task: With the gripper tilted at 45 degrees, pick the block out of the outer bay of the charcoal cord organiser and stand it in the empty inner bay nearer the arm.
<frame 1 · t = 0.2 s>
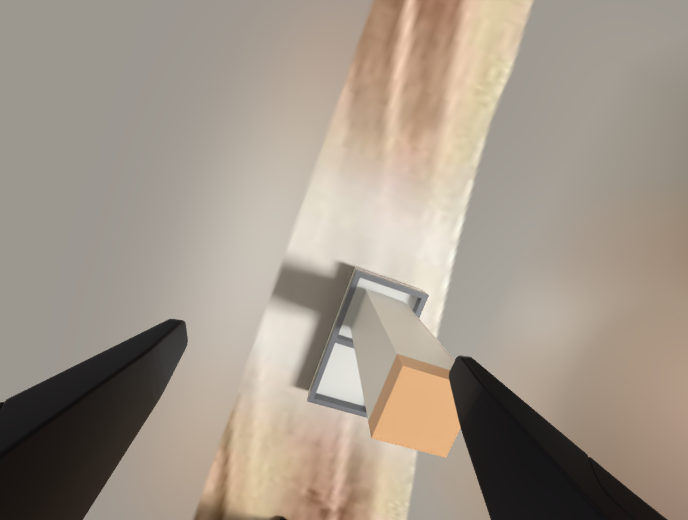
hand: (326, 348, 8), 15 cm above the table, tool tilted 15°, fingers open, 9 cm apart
block: (377, 314, 24), point 1 cm above the table, touching organiser
organiser: (364, 341, 25), on the table
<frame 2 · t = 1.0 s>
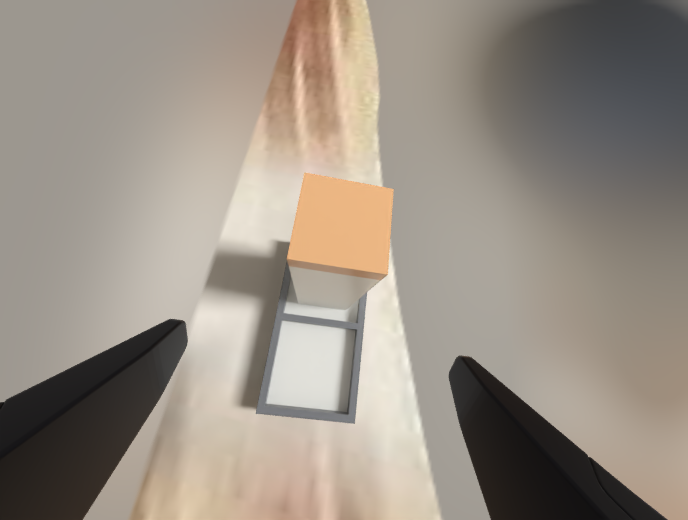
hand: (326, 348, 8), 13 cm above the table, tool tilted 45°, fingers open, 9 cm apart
block: (325, 283, 22), point 1 cm above the table, touching organiser
organiser: (319, 322, 22), on the table
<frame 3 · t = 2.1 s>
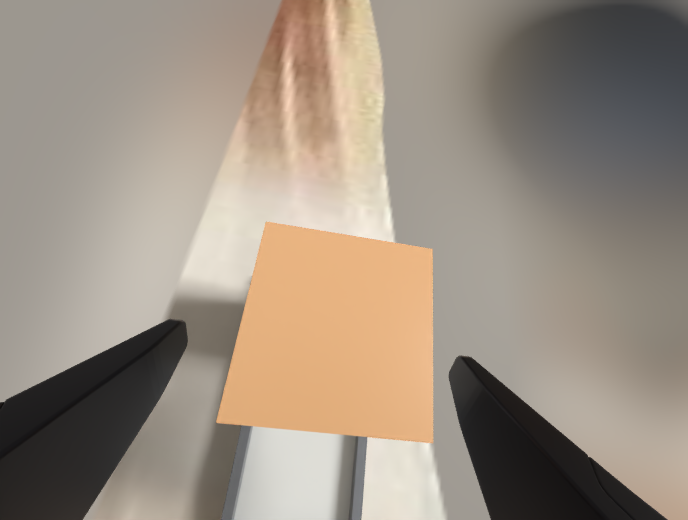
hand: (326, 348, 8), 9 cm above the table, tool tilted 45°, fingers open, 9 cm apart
block: (318, 339, 17), point 1 cm above the table, touching organiser
organiser: (310, 393, 16), on the table
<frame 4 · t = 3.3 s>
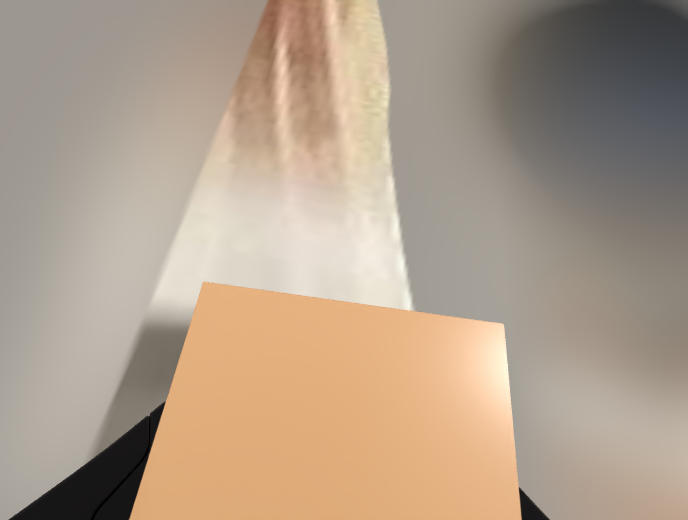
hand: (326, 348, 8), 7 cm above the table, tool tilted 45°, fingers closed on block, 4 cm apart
block: (314, 373, 14), point 1 cm above the table, touching gripper, organiser
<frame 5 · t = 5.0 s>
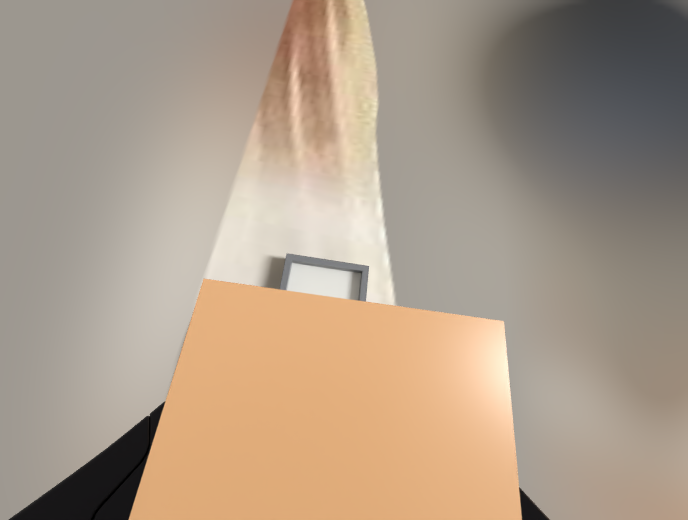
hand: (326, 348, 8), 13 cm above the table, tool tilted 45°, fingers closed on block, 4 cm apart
block: (314, 373, 14), point 7 cm above the table, touching gripper
organiser: (315, 343, 21), on the table
when the fingers open (9 cm above the table, at t = 6.6 s): block drops 2 cm, resting on organiser.
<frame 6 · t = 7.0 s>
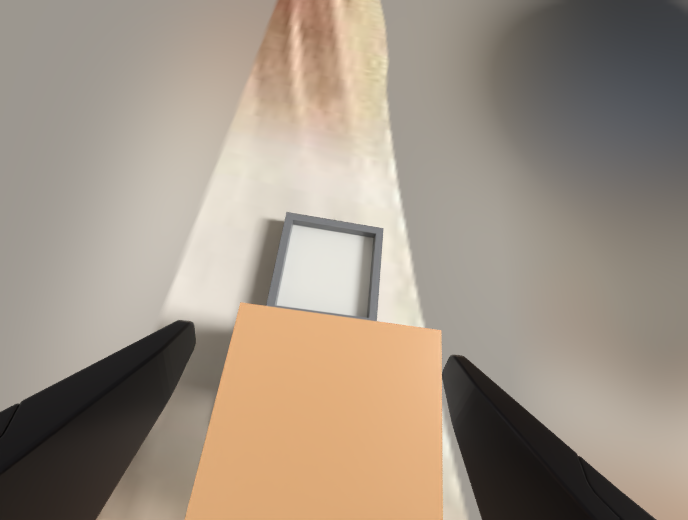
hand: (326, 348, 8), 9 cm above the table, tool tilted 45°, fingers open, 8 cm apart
block: (314, 370, 16), point 1 cm above the table, touching organiser
organiser: (321, 318, 17), on the table
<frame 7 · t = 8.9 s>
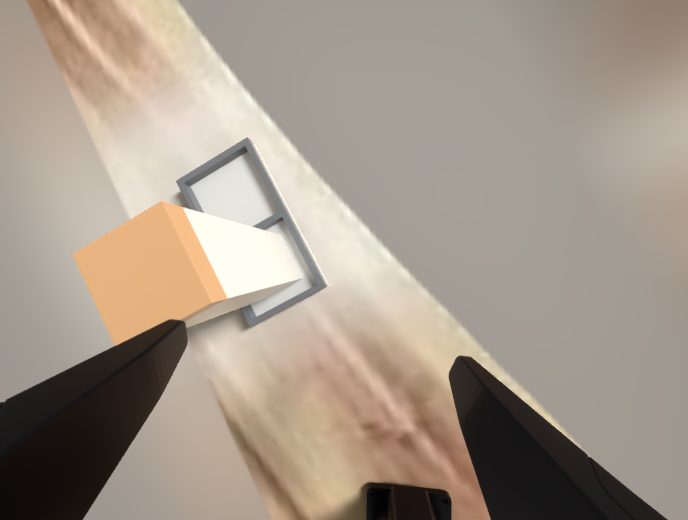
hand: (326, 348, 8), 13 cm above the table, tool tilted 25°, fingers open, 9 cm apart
block: (271, 267, 21), point 1 cm above the table, touching organiser
organiser: (256, 234, 22), on the table
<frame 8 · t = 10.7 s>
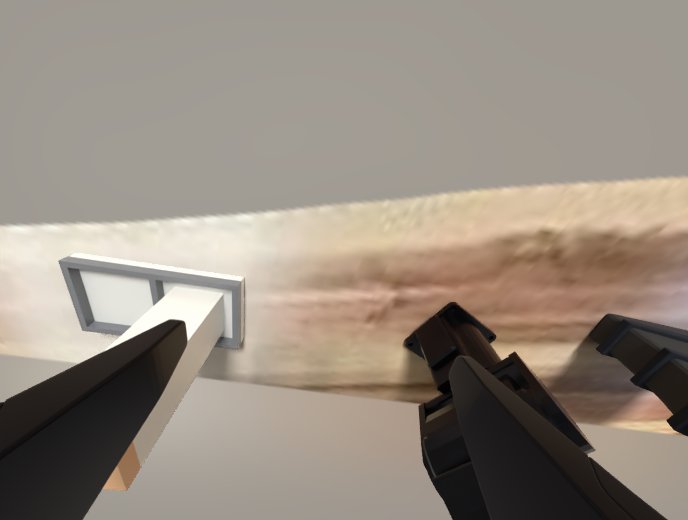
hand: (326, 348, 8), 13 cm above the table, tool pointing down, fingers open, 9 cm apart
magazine: (630, 330, 26), on the table
block: (200, 308, 23), point 1 cm above the table, touching organiser
organiser: (167, 299, 23), on the table
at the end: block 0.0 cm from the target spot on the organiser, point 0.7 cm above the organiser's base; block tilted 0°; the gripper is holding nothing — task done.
